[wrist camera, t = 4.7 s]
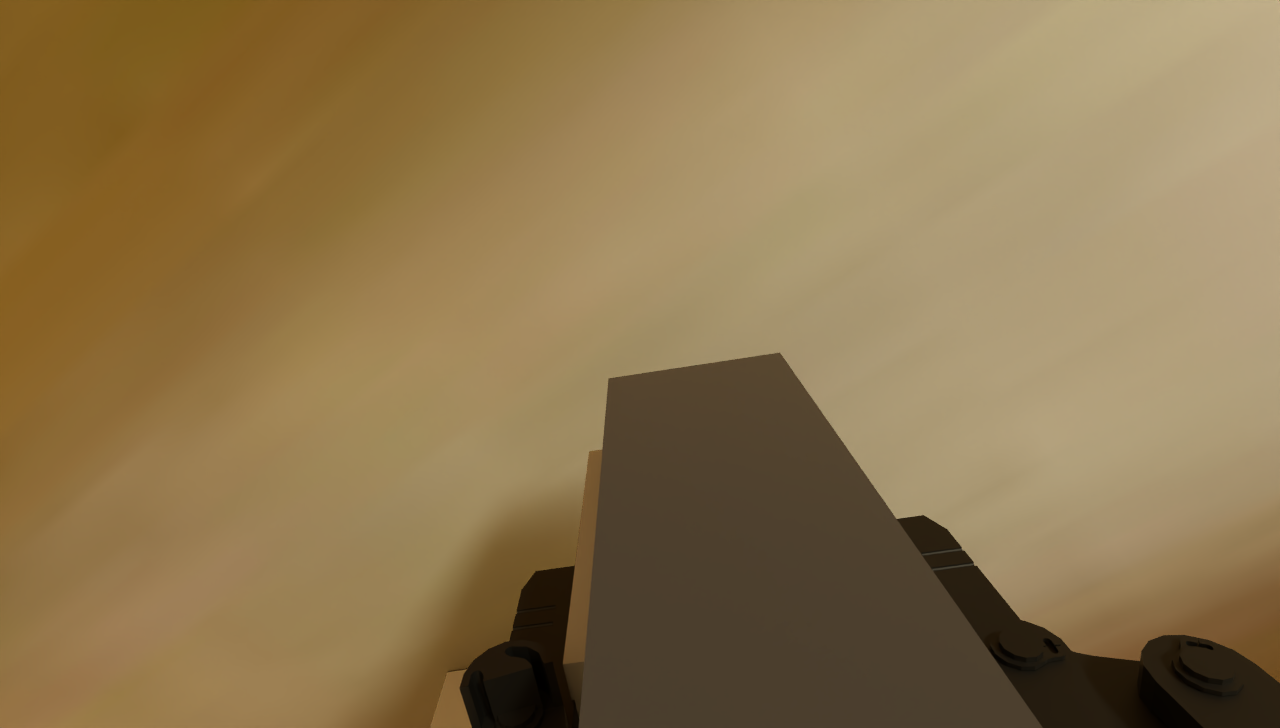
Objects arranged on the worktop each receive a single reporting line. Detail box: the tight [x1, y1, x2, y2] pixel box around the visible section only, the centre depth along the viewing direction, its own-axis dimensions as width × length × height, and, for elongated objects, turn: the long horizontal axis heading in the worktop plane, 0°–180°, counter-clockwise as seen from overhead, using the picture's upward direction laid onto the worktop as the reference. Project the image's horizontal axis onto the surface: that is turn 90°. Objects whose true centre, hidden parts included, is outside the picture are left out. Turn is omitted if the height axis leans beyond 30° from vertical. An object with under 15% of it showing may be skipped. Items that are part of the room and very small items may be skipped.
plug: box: [579, 353, 1043, 728], centre depth 11 cm, size 4×6×10 cm, turn 9°
